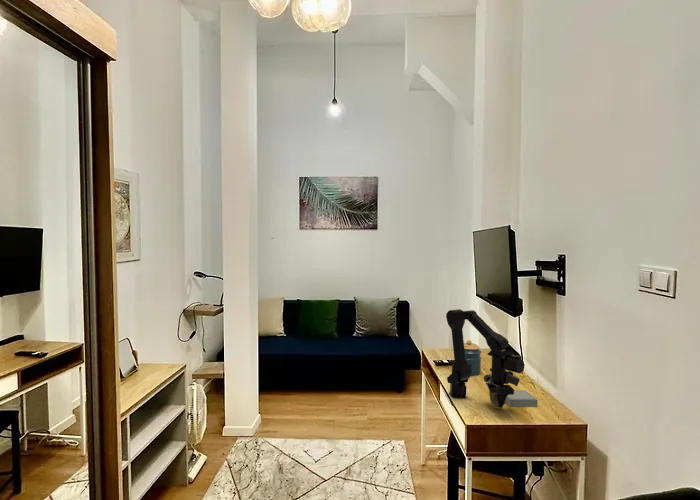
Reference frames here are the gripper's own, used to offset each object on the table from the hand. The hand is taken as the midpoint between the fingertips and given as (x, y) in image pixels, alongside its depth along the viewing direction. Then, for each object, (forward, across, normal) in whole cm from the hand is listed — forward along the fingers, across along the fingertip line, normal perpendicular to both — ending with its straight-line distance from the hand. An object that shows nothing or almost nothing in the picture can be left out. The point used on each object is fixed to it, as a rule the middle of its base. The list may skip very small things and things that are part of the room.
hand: (497, 404), depth 189 cm
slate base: (+2, +10, -13) cm, 17 cm away
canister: (+3, +55, -5) cm, 55 cm away
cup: (+2, 0, 0) cm, 2 cm away
